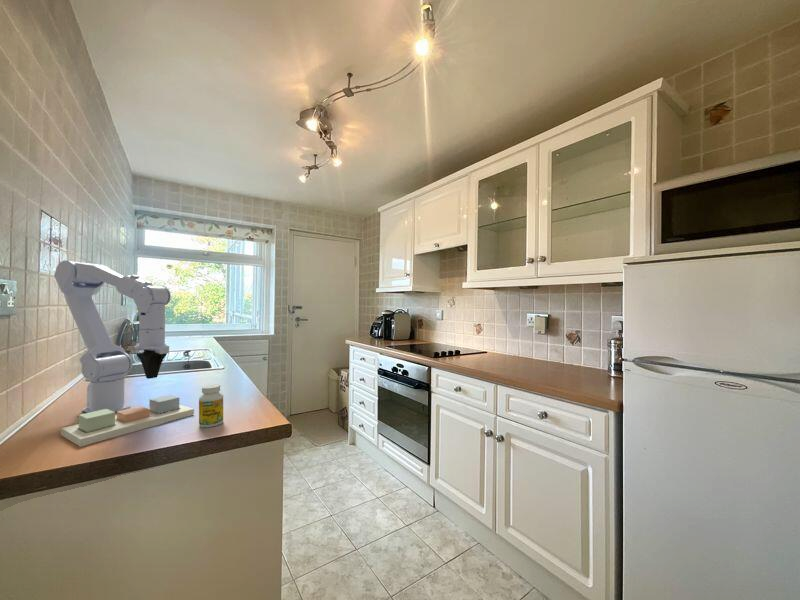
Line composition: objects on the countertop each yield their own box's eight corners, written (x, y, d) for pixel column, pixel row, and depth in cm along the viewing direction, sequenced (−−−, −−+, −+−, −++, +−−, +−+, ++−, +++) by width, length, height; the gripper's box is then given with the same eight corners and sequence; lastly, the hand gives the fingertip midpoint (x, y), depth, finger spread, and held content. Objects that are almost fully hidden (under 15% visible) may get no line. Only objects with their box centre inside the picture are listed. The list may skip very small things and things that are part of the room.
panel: (61, 435, 75) (61, 428, 75) (171, 407, 95) (171, 402, 95) (80, 446, 69) (80, 439, 69) (193, 414, 89) (193, 408, 89)
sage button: (78, 427, 75) (78, 414, 75) (106, 421, 79) (106, 408, 79) (86, 432, 72) (86, 418, 72) (114, 424, 77) (115, 412, 77)
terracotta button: (116, 423, 81) (116, 411, 81) (140, 417, 85) (140, 405, 85) (125, 427, 78) (125, 414, 78) (149, 420, 83) (149, 409, 83)
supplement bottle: (222, 418, 86) (222, 382, 86) (224, 425, 81) (224, 386, 81) (198, 422, 83) (198, 385, 83) (199, 429, 78) (199, 390, 78)
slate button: (149, 410, 87) (149, 399, 87) (170, 405, 91) (170, 394, 91) (158, 413, 84) (158, 402, 84) (179, 408, 89) (179, 397, 89)
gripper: (123, 328, 90) (122, 377, 90) (147, 331, 83) (147, 384, 82) (152, 327, 96) (152, 372, 96) (177, 329, 89) (177, 378, 89)
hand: (151, 377), depth 90 cm, fingers closed
